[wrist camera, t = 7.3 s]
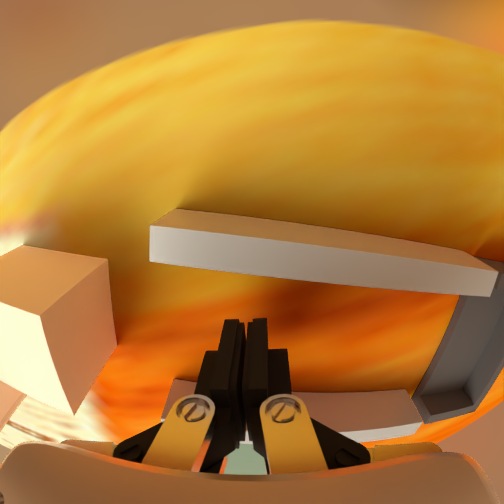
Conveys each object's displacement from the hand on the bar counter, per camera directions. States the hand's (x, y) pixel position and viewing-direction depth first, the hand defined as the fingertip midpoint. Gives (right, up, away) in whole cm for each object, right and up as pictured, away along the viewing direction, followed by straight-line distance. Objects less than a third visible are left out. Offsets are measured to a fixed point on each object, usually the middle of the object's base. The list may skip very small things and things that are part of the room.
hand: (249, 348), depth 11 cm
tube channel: (+3, 0, +2) cm, 4 cm away
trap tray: (+14, -1, +2) cm, 14 cm away
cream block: (-10, +2, +2) cm, 10 cm away
